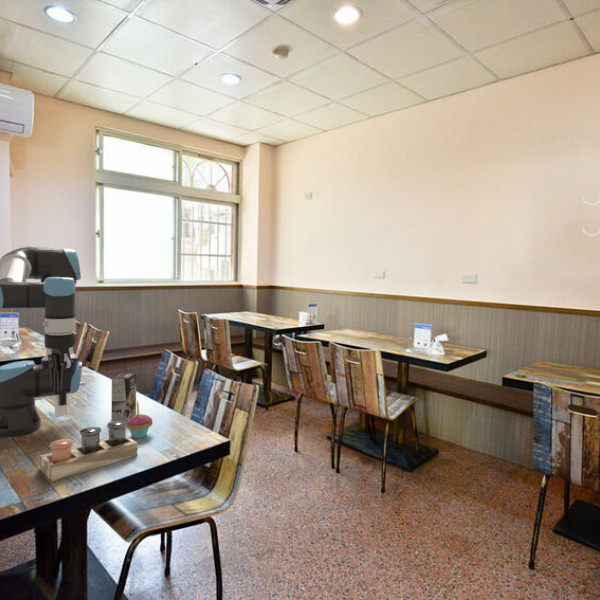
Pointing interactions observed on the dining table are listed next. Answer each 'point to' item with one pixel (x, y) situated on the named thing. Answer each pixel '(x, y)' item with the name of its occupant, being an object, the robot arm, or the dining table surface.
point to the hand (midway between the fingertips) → (61, 415)
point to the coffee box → (123, 396)
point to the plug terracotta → (61, 450)
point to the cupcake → (139, 424)
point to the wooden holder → (87, 459)
